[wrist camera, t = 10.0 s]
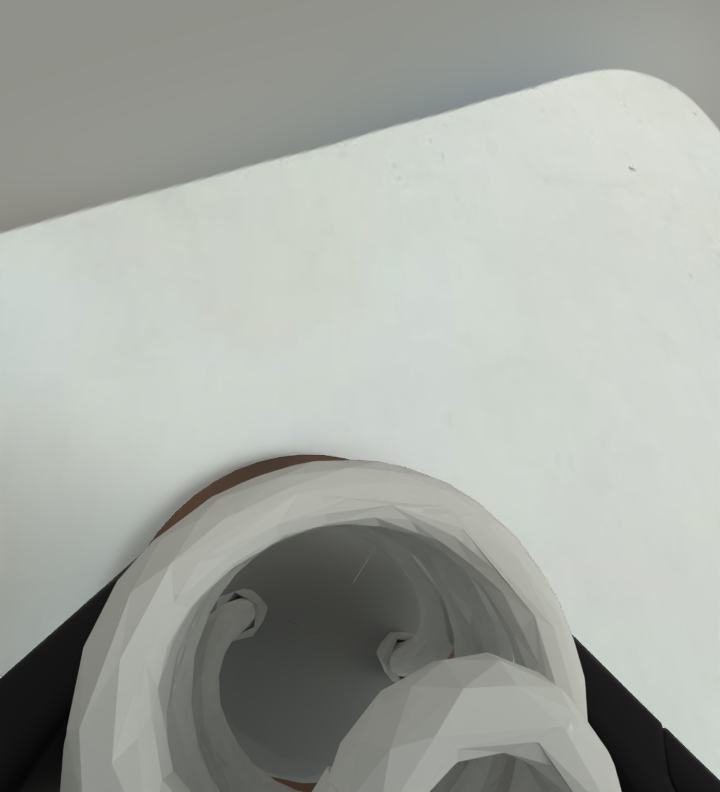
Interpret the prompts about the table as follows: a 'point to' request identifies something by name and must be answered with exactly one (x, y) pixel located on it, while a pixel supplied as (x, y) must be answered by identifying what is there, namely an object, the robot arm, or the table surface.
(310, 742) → the light bulb
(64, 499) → the table surface
